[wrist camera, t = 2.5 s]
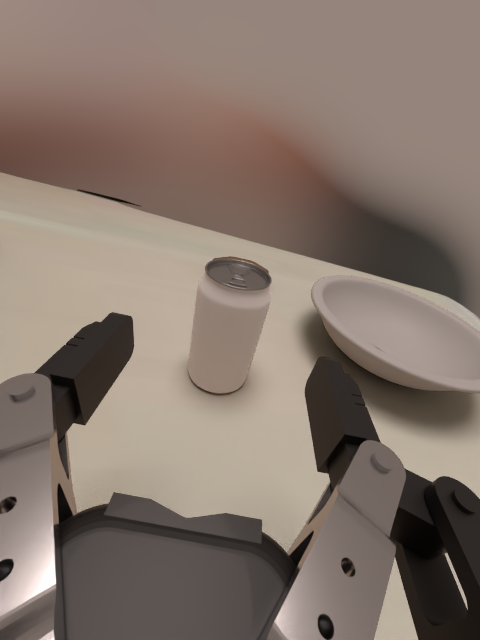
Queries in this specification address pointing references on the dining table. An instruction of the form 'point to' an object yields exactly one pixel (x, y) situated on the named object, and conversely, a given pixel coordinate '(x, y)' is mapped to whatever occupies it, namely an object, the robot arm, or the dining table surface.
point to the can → (227, 323)
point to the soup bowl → (399, 334)
